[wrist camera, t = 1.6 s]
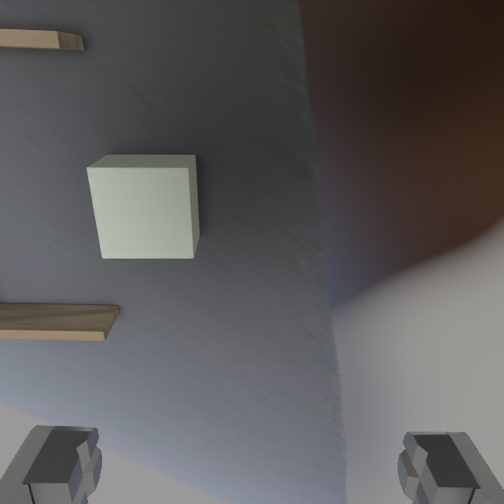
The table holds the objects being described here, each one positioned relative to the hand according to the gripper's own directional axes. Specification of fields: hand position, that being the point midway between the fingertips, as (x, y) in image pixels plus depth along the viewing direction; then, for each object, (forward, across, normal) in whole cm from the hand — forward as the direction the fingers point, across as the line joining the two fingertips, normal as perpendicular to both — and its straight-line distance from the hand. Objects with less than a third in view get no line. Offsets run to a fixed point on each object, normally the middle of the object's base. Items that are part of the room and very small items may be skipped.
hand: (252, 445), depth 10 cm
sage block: (+20, +7, -1) cm, 21 cm away
